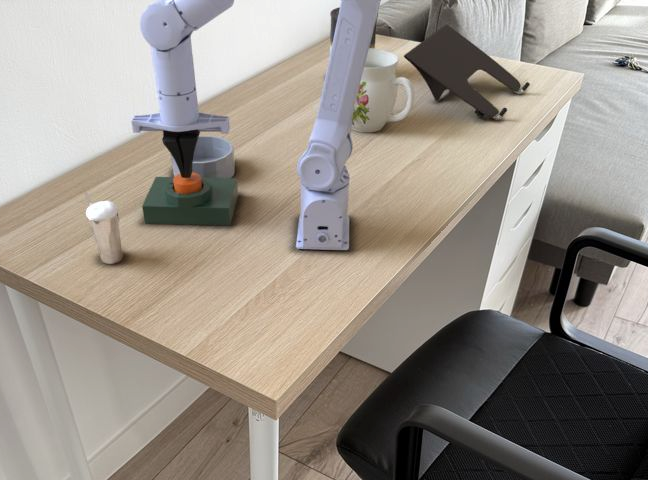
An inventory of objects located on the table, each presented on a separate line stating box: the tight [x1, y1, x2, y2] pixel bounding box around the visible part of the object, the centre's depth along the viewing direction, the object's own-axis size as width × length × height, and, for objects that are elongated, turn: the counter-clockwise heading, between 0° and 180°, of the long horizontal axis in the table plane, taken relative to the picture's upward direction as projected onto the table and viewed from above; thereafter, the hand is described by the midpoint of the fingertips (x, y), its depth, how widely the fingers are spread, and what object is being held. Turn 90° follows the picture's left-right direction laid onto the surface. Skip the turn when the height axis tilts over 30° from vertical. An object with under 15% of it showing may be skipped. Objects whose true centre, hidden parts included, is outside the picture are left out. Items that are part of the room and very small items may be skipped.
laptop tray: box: [403, 23, 531, 121], centre depth 144 cm, size 23×23×9 cm
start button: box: [173, 172, 202, 194], centre depth 109 cm, size 4×4×2 cm
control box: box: [141, 176, 239, 226], centre depth 112 cm, size 10×14×5 cm
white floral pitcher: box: [351, 48, 415, 133], centre depth 132 cm, size 11×18×14 cm, turn 51°
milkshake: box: [83, 191, 124, 265], centre depth 100 cm, size 4×5×10 cm
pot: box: [170, 135, 236, 178], centre depth 122 cm, size 11×11×5 cm
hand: (186, 174), depth 108 cm, fingers closed
